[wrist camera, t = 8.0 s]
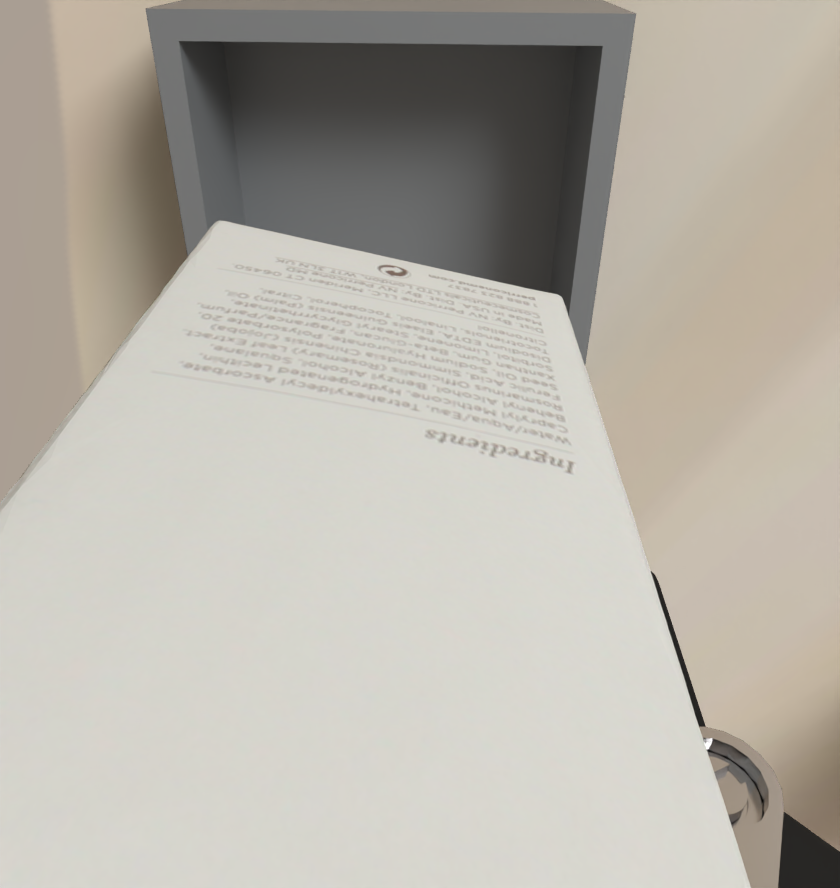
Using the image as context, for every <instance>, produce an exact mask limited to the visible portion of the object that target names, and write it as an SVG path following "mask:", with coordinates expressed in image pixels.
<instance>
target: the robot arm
mask: <svg viewBox="0 0 840 888" xmlns="http://www.w3.org/2000/svg"><path fill="white" fill-rule="evenodd" d="M651 574H652V577H653V581H654V584H655V587H656V590H657V593H658V597H659V600H660V604H661V607H662V610H663V613H664V616H665V619H666V622H667V625H668V629H669V632H670V635H671V638H672V641H673V644H674V648H675V651H676V654H677V657H678V660H679V663H680V666H681V670H682V673H683V676H684V679H685V682H686V686H687V689H688V693H689V696H690V699H691V703H692V706H693V709H694V713H695V716H696V719H697V722H698V725H699V728H700V731H701V734H702V737H703V740H704V743H705V746H706V749H707V752H708V755H709V758H710V761H711V764H712V767H713V770H714V773H715V776H716V779H717V782H718V785H719V788H720V791H721V794H722V797H723V800H724V803H725V807H726V810H727V813H728V816H729V819H730V822H731V826H732V829H733V832H734V835H735V838H736V841H737V844H738V848H739V851H740V854H741V857H742V861H743V864H744V867H745V870H746V874H747V877H748V880H749V883H750V887H751V888H840V852H839V851H838V850H836V849H835V848H833V847H832V846H831V845H829V844H828V843H827V842H825V841H824V840H822V839H821V838H820V837H818V836H817V835H815V834H814V833H813V832H811V831H810V830H809V829H807V828H806V827H804V826H803V825H802V824H800V823H799V822H797V821H796V820H795V819H793V818H792V817H791V816H789V815H788V814H786V813H785V812H784V803H783V794H782V788H781V786H780V784H779V782H778V780H777V777H776V775H775V773H774V771H773V770H772V768H771V767H770V766H769V765H768V763H767V762H766V761H765V760H764V758H763V757H762V756H761V755H760V754H759V753H758V752H757V751H755V750H754V749H753V748H752V747H750V746H749V745H748V744H747V743H745V742H744V741H743V740H741V739H739V738H736V737H734V736H732V735H730V734H728V733H726V732H724V731H721V730H716V729H712V728H708V727H706V726H705V723H704V720H703V717H702V714H701V711H700V708H699V705H698V702H697V699H696V696H695V693H694V690H693V687H692V683H691V680H690V677H689V674H688V671H687V668H686V665H685V662H684V659H683V656H682V653H681V650H680V647H679V644H678V641H677V637H676V634H675V631H674V628H673V625H672V622H671V619H670V616H669V613H668V610H667V607H666V604H665V601H664V598H663V595H662V592H661V588H660V585H659V583H658V580H657V578H656V576H655V575H654V574H653V572H652V571H651Z"/></svg>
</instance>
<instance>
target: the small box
mask: <svg viewBox="0 0 840 888" xmlns="http://www.w3.org/2000/svg"><path fill="white" fill-rule="evenodd" d="M0 888H751V887H750V883H749V880H748V877H747V874H746V870H745V867H744V864H743V861H742V857H741V854H740V851H739V848H738V844H737V841H736V838H735V835H734V832H733V829H732V826H731V822H730V819H729V816H728V813H727V810H726V807H725V803H724V800H723V797H722V794H721V791H720V788H719V785H718V782H717V779H716V776H715V773H714V770H713V767H712V764H711V761H710V758H709V755H708V752H707V749H706V746H705V743H704V740H703V737H702V734H701V731H700V728H699V725H698V722H697V719H696V716H695V713H694V709H693V706H692V703H691V699H690V696H689V693H688V689H687V686H686V682H685V679H684V676H683V673H682V670H681V666H680V663H679V660H678V657H677V654H676V651H675V648H674V644H673V641H672V638H671V635H670V632H669V629H668V625H667V622H666V619H665V616H664V613H663V610H662V607H661V604H660V600H659V597H658V593H657V590H656V587H655V584H654V581H653V577H652V574H651V571H650V568H649V565H648V562H647V559H646V555H645V552H644V549H643V546H642V543H641V539H640V536H639V533H638V530H637V526H636V523H635V520H634V517H633V514H632V510H631V507H630V504H629V501H628V498H627V495H626V492H625V489H624V486H623V483H622V481H621V477H620V474H619V471H618V467H617V464H616V460H615V457H614V454H613V451H612V448H611V445H610V442H609V439H608V436H607V433H606V430H605V427H604V424H603V420H602V417H601V414H600V411H599V408H598V405H597V401H596V398H595V395H594V392H593V390H592V387H591V384H590V380H589V376H588V373H587V370H586V367H585V364H584V362H583V359H582V356H581V353H580V350H579V347H578V344H577V341H576V337H575V334H574V331H573V328H572V325H571V322H570V319H569V316H568V313H567V310H566V306H565V304H564V301H563V298H562V297H561V296H559V295H558V294H553V293H548V292H543V291H538V290H533V289H528V288H523V287H519V286H514V285H510V284H505V283H501V282H497V281H492V280H488V279H483V278H479V277H474V276H470V275H465V274H461V273H456V272H452V271H448V270H443V269H439V268H434V267H430V266H425V265H421V264H416V263H412V262H407V261H403V260H398V259H394V258H389V257H385V256H380V255H376V254H372V253H367V252H363V251H358V250H353V249H349V248H344V247H340V246H335V245H330V244H326V243H321V242H317V241H312V240H308V239H303V238H299V237H295V236H290V235H286V234H281V233H277V232H272V231H268V230H263V229H258V228H254V227H249V226H244V225H240V224H236V223H231V222H227V221H217V222H215V223H214V224H213V225H212V226H211V227H210V228H209V230H208V231H207V233H206V234H205V235H204V237H203V238H202V239H201V240H200V242H199V243H198V244H197V246H196V247H195V248H194V250H193V251H192V252H191V253H190V254H189V256H188V257H187V258H186V260H185V261H184V262H183V264H182V265H181V266H180V267H179V269H178V270H177V272H176V273H175V274H174V276H173V277H172V278H171V280H170V281H169V282H168V284H167V285H166V286H165V287H164V288H163V290H162V291H161V293H160V294H159V295H158V297H157V298H156V299H155V301H154V302H153V303H152V304H151V306H150V307H149V308H148V309H147V311H146V312H145V313H144V315H143V316H142V317H141V318H140V320H139V321H138V322H137V323H136V325H135V326H134V328H133V329H132V330H131V332H130V333H129V335H128V336H127V337H126V339H125V340H124V341H123V343H122V344H121V345H120V347H119V348H118V349H117V351H116V352H115V353H114V355H113V356H112V357H111V359H110V360H109V361H108V363H107V364H106V365H105V367H104V368H103V369H102V371H101V372H100V373H99V374H98V375H97V377H96V378H95V380H94V381H93V382H92V384H91V385H90V386H89V388H88V389H87V391H86V392H85V393H84V394H83V395H82V396H81V397H80V399H79V400H78V402H77V403H76V404H75V406H74V407H73V408H72V410H71V411H70V413H69V414H68V415H67V416H66V418H65V419H64V420H63V421H62V422H61V424H60V425H59V426H58V428H57V429H56V431H55V432H54V433H53V435H52V436H51V438H50V439H49V440H48V442H47V443H46V445H45V446H44V447H43V448H42V449H41V451H40V452H39V453H38V454H37V455H36V457H35V458H34V460H33V461H32V462H31V464H30V465H29V466H28V468H27V469H26V471H25V472H24V473H23V475H22V476H21V477H20V479H19V480H18V481H17V482H16V483H15V484H14V485H13V487H12V488H11V489H10V490H9V492H8V493H7V494H6V496H5V497H4V499H3V500H2V501H1V503H0Z"/></svg>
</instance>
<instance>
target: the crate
mask: <svg viewBox="0 0 840 888" xmlns="http://www.w3.org/2000/svg"><path fill="white" fill-rule="evenodd" d="M146 14H147V20H148V26H149V32H150V37H151V43H152V49H153V55H154V61H155V67H156V73H157V79H158V84H159V90H160V96H161V102H162V108H163V114H164V120H165V126H166V131H167V137H168V143H169V149H170V155H171V161H172V167H173V173H174V178H175V184H176V190H177V196H178V202H179V208H180V214H181V220H182V225H183V231H184V237H185V243H186V249H187V255H188V256H189V254H190V253H191V252H192V251H193V250H194V248H195V247H196V246H197V244H198V243H199V242H200V240H201V239H202V238H203V237H204V235H205V234H206V233H207V231H208V230H209V228H210V227H211V226H212V225H213V224H214V223H215V222H217V221H227V222H231V223H236V224H240V225H244V226H249V227H254V228H258V229H263V230H268V231H272V232H277V233H281V234H286V235H290V236H295V237H299V238H303V239H308V240H312V241H317V242H321V243H326V244H330V245H335V246H340V247H344V248H349V249H353V250H358V251H363V252H367V253H372V254H376V255H380V256H385V257H389V258H394V259H398V260H403V261H407V262H412V263H416V264H421V265H425V266H430V267H434V268H439V269H443V270H448V271H452V272H456V273H461V274H465V275H470V276H474V277H479V278H483V279H488V280H492V281H497V282H501V283H505V284H510V285H514V286H519V287H523V288H528V289H533V290H538V291H543V292H548V293H553V294H558V295H559V296H561V297H562V298H563V301H564V304H565V306H566V310H567V313H568V316H569V319H570V322H571V325H572V328H573V331H574V334H575V337H576V341H577V344H578V347H579V350H580V353H581V356H582V359H583V362H584V364H585V363H586V356H587V349H588V342H589V335H590V328H591V321H592V314H593V307H594V301H595V294H596V287H597V280H598V273H599V266H600V259H601V252H602V245H603V238H604V231H605V225H606V218H607V211H608V204H609V197H610V190H611V183H612V176H613V169H614V162H615V156H616V149H617V142H618V135H619V128H620V121H621V114H622V107H623V100H624V93H625V87H626V80H627V73H628V66H629V59H630V52H631V45H632V38H633V31H634V24H635V18H636V14H635V13H633V12H630V11H628V10H626V9H623V8H621V7H618V6H616V5H613V4H611V3H608V2H606V1H603V0H181V1H177V2H173V3H168V4H164V5H159V6H155V7H151V8H146Z"/></svg>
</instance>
